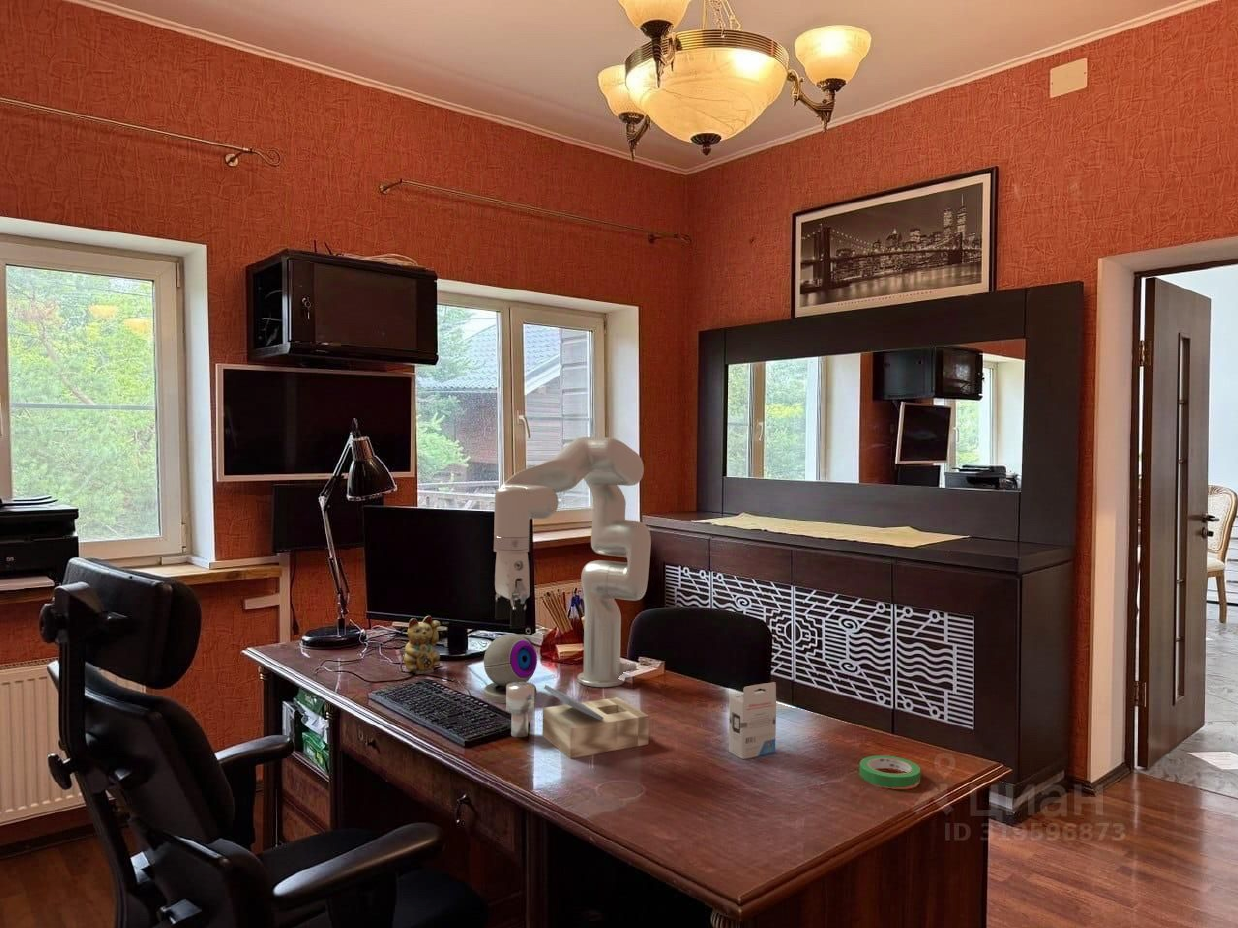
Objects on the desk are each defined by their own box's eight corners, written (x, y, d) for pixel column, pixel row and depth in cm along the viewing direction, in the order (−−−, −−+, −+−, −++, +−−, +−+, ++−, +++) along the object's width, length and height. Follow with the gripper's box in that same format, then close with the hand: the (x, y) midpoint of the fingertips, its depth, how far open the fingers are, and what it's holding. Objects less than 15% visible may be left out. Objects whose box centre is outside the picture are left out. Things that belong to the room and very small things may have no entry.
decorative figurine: (410, 676, 224) (411, 620, 224) (397, 669, 230) (397, 614, 230) (444, 671, 230) (444, 615, 230) (430, 664, 237) (430, 610, 236)
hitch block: (616, 723, 191) (617, 697, 191) (648, 744, 178) (648, 715, 178) (542, 735, 182) (542, 707, 182) (570, 758, 170) (570, 728, 170)
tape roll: (849, 779, 163) (849, 765, 163) (875, 763, 171) (875, 750, 171) (904, 796, 155) (905, 782, 155) (929, 779, 164) (930, 765, 163)
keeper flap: (576, 704, 185) (578, 700, 185) (601, 721, 174) (603, 717, 174) (543, 688, 181) (545, 684, 181) (567, 704, 170) (569, 700, 170)
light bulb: (527, 727, 187) (528, 680, 187) (538, 736, 182) (538, 687, 181) (501, 731, 184) (502, 683, 184) (511, 740, 179) (512, 691, 179)
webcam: (509, 706, 202) (510, 643, 201) (472, 695, 209) (472, 634, 209) (546, 693, 212) (547, 633, 211) (509, 683, 220) (510, 626, 219)
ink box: (761, 745, 179) (763, 675, 179) (776, 753, 175) (777, 681, 174) (727, 751, 175) (729, 680, 175) (741, 759, 171) (743, 686, 170)
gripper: (542, 548, 178) (540, 630, 178) (514, 539, 193) (513, 614, 193) (508, 549, 174) (506, 633, 175) (482, 540, 190) (481, 617, 190)
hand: (509, 623), depth 184 cm, fingers open, 9 cm apart
